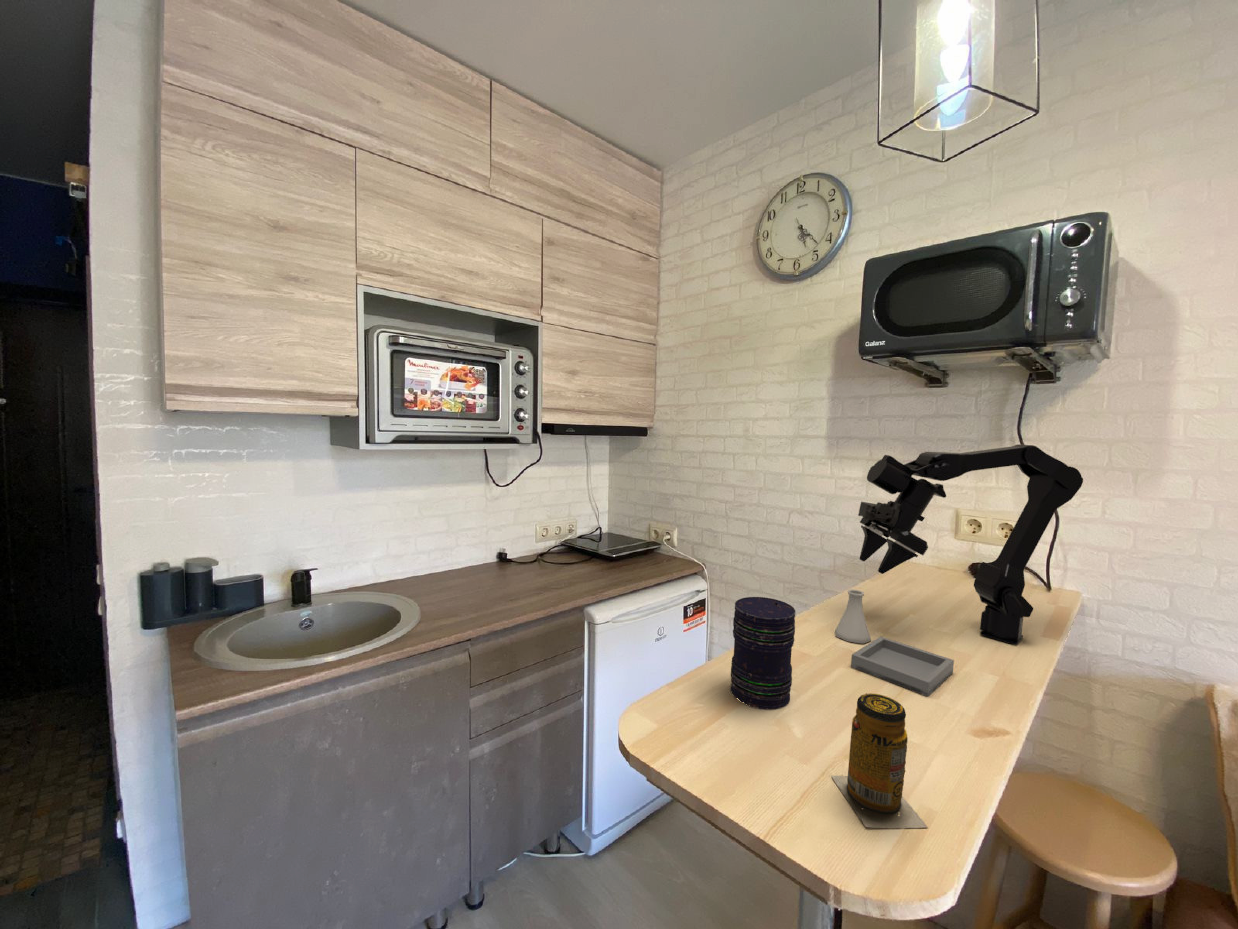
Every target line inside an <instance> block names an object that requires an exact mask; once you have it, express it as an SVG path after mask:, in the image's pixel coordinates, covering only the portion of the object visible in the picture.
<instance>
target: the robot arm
mask: <svg viewBox="0 0 1238 929" xmlns="http://www.w3.org/2000/svg"><path fill="white" fill-rule="evenodd" d="M1011 466H1014V467H1015V466H1017V467H1018V468H1019V470H1020V472H1021V473H1023V474H1024V475H1025V476H1026V477H1027V478H1029V479H1028V481H1027V486H1026V489H1027V498H1028V499H1027V502H1026V504H1025V506H1024V507H1023V509H1022V510H1021V514H1020V515H1019V517H1018V519H1017V520H1016V523H1015V525H1014V526H1013V528H1012V530H1011V532H1010V534H1009V535H1008V538H1007V539H1006V541H1005V544H1004V545H1003V546H1002V549H1001V551H1000V553H999V555H998V556H997V558H996V559H995V560H994V561H992V562H990V563H987V562H984V561H983V562H981V563H980V564H979V568H978V570H977V571H976V573H975V574H974V575H973V576H972V577H973V579H974V582H973V588H974V589H975V592H976V593H977V594H978V596H979V600H980V602H981V603H983V604H986V606H985V608H984V610H983V611H982V612H981V614H980V615H981V616H980V625H979V630H980V636H982V637H986V638H989V639H993V640H996V641H1000V642H1004V643H1006V644H1007V643H1008V644H1010V645H1012V646H1013V645H1014V646H1016V645H1018V644H1020V642H1021V641H1022V639H1024V635H1023V633H1022V632H1023V622H1024V618H1030V617H1031V615H1032V613H1033V611H1034V607H1033V606H1032V604H1030V603H1029V601H1028V600H1027V599H1026V598H1025V597H1024V596H1023V592H1024V589H1025V586H1026V580H1025V568H1026V566H1027V564H1028V562H1029V561H1030V558H1032V556H1033V554H1034V551H1036V550H1035V549H1036V547H1037V546H1038V544H1039V543H1040V541H1041V538H1042V537H1043V535H1044V533H1045V531H1046V530H1047V527H1048V526H1049V523H1050V522H1051V520H1052V518H1053V516H1054V514H1055V513H1056V511H1057V510H1058V509H1059V508H1060V507H1062V506H1063V505H1065V504H1066V503H1068V502H1070V501H1071V500H1072V499H1073V498H1074V497H1075V495H1076V494H1077V492H1079V491H1080V489H1081V487H1082V486H1083V483H1084V478H1083V477H1082V474H1081V472H1080V470H1078V469H1077V468H1076V467H1073V466H1071V465H1069V466H1068V464H1066V463H1065V462H1063V461H1061V460H1060V459H1057V458H1056V457H1054V456H1051V455H1050V454H1048V453H1046V452H1045V451H1043V450H1042V449H1041V448H1039V447H1038V446H1036V445H1032V444H1031V445H1030V444H1015V445H1011V446H1005V447H997V448H991V449H990V448H987V449H983V450H982V449H981V450H974V451H967V452H948V451H947V452H945V451H924V452H921V453H920V454H918V456H917V458H915V459H914V460H911V461H909V462H907V463H904V464H903V463H901V462H900V461H899V460H897V459H896V458H895V457H893V456H892V455H888V454H884V455H883V457H882V459H879V460H878V461H877V462H875V463H874V465H872V466H870V469H869V470H868V472H867V475H866V479H867V482H868V483H871V484H872V485H875V486H876V487H877V488H880V489H881V490H883V491H885V492H887V493H889V495H895V494H898V493H899V494H898V495H897V497H896V498H895V500H894V501H892V500H889V501H888V502H887V503H882V502H879V501H878V502H876V503H871V502H866V501H860V505H859V509H858V514H857V516H858V517H862V518H861V520H860V521H859V523H860V524H861V525H860V527H861V529H862V531H863V535H864V538H863V543H862V546H861V552H860V555H859V560H860V561H862V562H865V561H867V560H868V559H869V558H870V557H871V556H872V555H874V554H875V553H876V552H877V551H878V550H879V549H881V548H882V547H883V546H884V545H885V544H887V547H888V548H887V550H886V552H885V554H884V556H883V559H882V560H881V562H880V564H879V566H878V570H877V572H878V573H879V574H880V575H881V574H882V575H883V574H886V573H887V572H889V571H891V570H892V569H894V568H896V567H897V566H900V565H901V564H904V563H905V562H907V561H909V560H911V559H913V558H918V557H919V555H921V556H924V555H925V554H926V552H927V550H928V549H929V545H928V542H927V541H926V540H924V539H923V538H921V537H919V536H917V535H916V534H914V533H913V532H912V531H913V529H914V527H915V526H916V524H917V522H918V521H919V522H923V521H924V520H925V517H924V516H923V514H924V512H925V510H926V508H927V507H928V505H929V504H930V502H931V501H932V499H933V497H934V496H936V497H941V498H944V499H945V498H946V497H947V493H946V491H945V489H944V484H941V483H935V484H934V483H932V482H930V481H929V480H927V479H930V480H935V481H939V482H940V481H941V482H945V481H949V480H951V479H956V478H960V477H961V476H963V475H964V474H966V473H969V472H975V471H980V470H981V471H983V470H989V469H996V468H997V469H998V468H1005V467H1011ZM913 476H914V477H915V476H916V477H921V478H918V479H916V478H914V477H913ZM916 553H917V554H916ZM918 554H919V555H918Z"/></svg>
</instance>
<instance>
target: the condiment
mask: <svg viewBox="0 0 1238 929" xmlns="http://www.w3.org/2000/svg"><path fill="white" fill-rule="evenodd" d="M906 717H907V714H906V710H905V708H904V706H903V705H902V704H901V703H899V702H898V701H897V700H895V699H894V698H892V697H888V696H887V695H882V694H880V693H879V694H878V693H867V692H866V693H864V694H862V695H860V696H859V697H858V698H857V701H856V709H855V715H854V716H853V718H852V721H851V730H850V731H851V733H850V743H849V754H848V755H849V756H848V768H847V775H831V778H832V779H833V781H834V782H835V784H836V786H837V788H839V790H840V792H841V793H842V795H843V796H844V798H845V799H846V800H847V803H849V804H850V805H851V807H852V809H853V810H854V813H855V814H856V815H857V817H858V818H859V819H860V820H861V822H862V823H863V825H864V827H865V828H874V829H901V830H903V829H919V828H922V829H923V828H928V825H927V824H926V823H925V821H924V820H923V818H921V817H920V815H919V813H918V812H916V811H915V809H914V808H913V807H912V806H911V804H910V803H909V802H908V801H907V800H906V799H905V798H904V797H903V790H904V783H905V773H906V764H907V761H906V760H907V752H908V739H909V738H908V733H907V730H906V728H905V727H906Z"/></svg>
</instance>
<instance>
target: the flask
mask: <svg viewBox="0 0 1238 929" xmlns="http://www.w3.org/2000/svg"><path fill="white" fill-rule="evenodd" d="M847 594H848V600H847V604H846V608H845V610H844V612H843V614H842V616H841V617H840V620H839V622H838V624H837V626H836V628H835V630H834V634H835V637H837V638H839V639H841V640H844V641H846V642H850V643H854V644H855V643H856V644H863V645H864V644H866V643H869V642H872V639H871V635H870V632H869V629H868V625H867V621H866V618H865V613H864V609H863V597H864V596H865V592H864V591H862V590H859V589H854V588H853V589H852V588H851V589H847Z"/></svg>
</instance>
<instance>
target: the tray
mask: <svg viewBox="0 0 1238 929" xmlns="http://www.w3.org/2000/svg"><path fill="white" fill-rule="evenodd" d="M954 662H955V659H951V658H949V657H946V656H942V655H939V654H937V653H933V652H931V651H928V650H924V649H921V648H918V647H915V646H912V645H910V644H906V643H902V642H899V641H896V640H893V639H890V638H887V637H884V636H879V637H877V638H875V639H874V640H871V641H870V643H869V642H868V644H866V645H864V646H863V647H861V648H860V649H858V650H856V651H855V652H853V653H852V654H851V660H850V668H852V669H854V670H857V671H859V672H862V673H865V674H867V675H870V676H872V677H875V678H877V679H881V680H882V681H885V682H888V683H890V684H893V685H896V686H898V687H901V688H903V689H906V690H909V691H911V692H914V693H917V694H919V695H921V696H925V697H926V698H928V697H929V696H930V695H931V694H933V693H934V692H935V691H936V690H937V689H938V688H939V687H940V686H941V685H942V684H943V683H944V682H945V681H946V680H947V679H948V678H950V677H951V675H952V674H953V673H954V664H955V663H954Z"/></svg>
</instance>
